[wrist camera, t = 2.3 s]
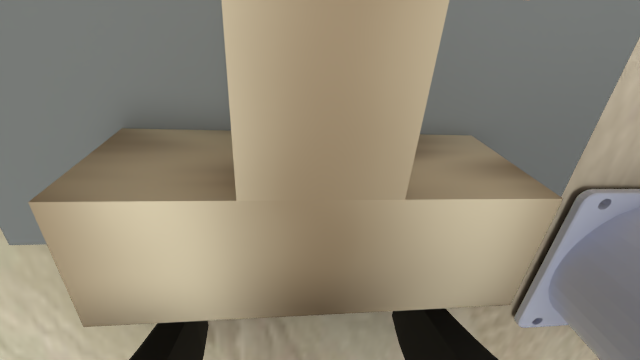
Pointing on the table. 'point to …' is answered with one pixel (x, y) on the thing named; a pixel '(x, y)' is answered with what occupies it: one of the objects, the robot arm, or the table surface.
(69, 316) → the table surface
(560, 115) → the mat
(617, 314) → the robot arm
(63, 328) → the table surface
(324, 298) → the t block
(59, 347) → the table surface
